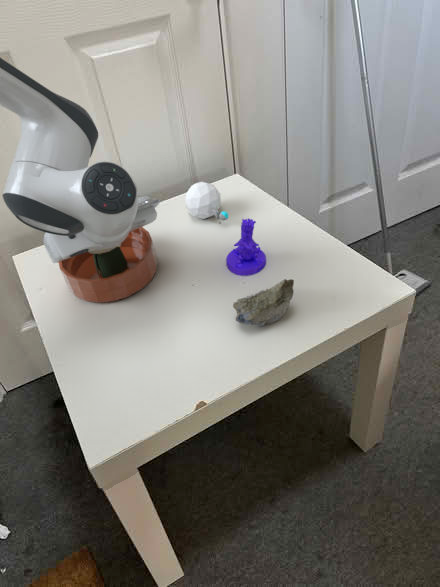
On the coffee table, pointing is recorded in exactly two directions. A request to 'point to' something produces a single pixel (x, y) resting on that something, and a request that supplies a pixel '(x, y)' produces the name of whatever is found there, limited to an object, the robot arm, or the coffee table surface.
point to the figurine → (246, 252)
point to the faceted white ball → (204, 201)
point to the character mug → (109, 261)
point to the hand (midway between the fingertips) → (101, 239)
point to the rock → (265, 304)
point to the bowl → (131, 280)
